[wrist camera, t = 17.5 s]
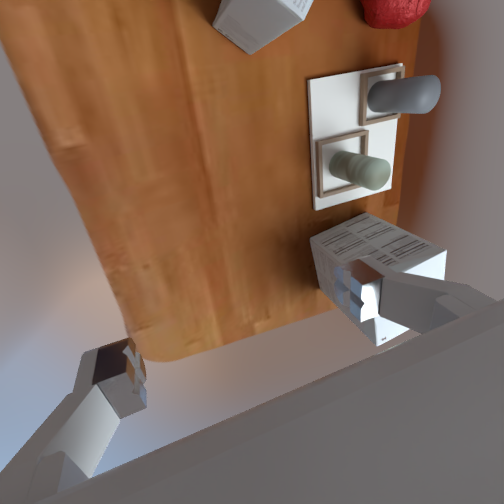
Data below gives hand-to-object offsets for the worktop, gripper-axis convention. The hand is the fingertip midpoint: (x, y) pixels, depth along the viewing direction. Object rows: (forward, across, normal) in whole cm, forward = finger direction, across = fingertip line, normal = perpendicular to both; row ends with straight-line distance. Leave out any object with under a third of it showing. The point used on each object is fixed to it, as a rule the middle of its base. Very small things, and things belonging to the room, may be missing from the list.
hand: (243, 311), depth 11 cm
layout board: (+34, -30, +3) cm, 46 cm away
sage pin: (+33, -27, +6) cm, 43 cm away
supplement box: (+34, -28, +24) cm, 50 cm away
